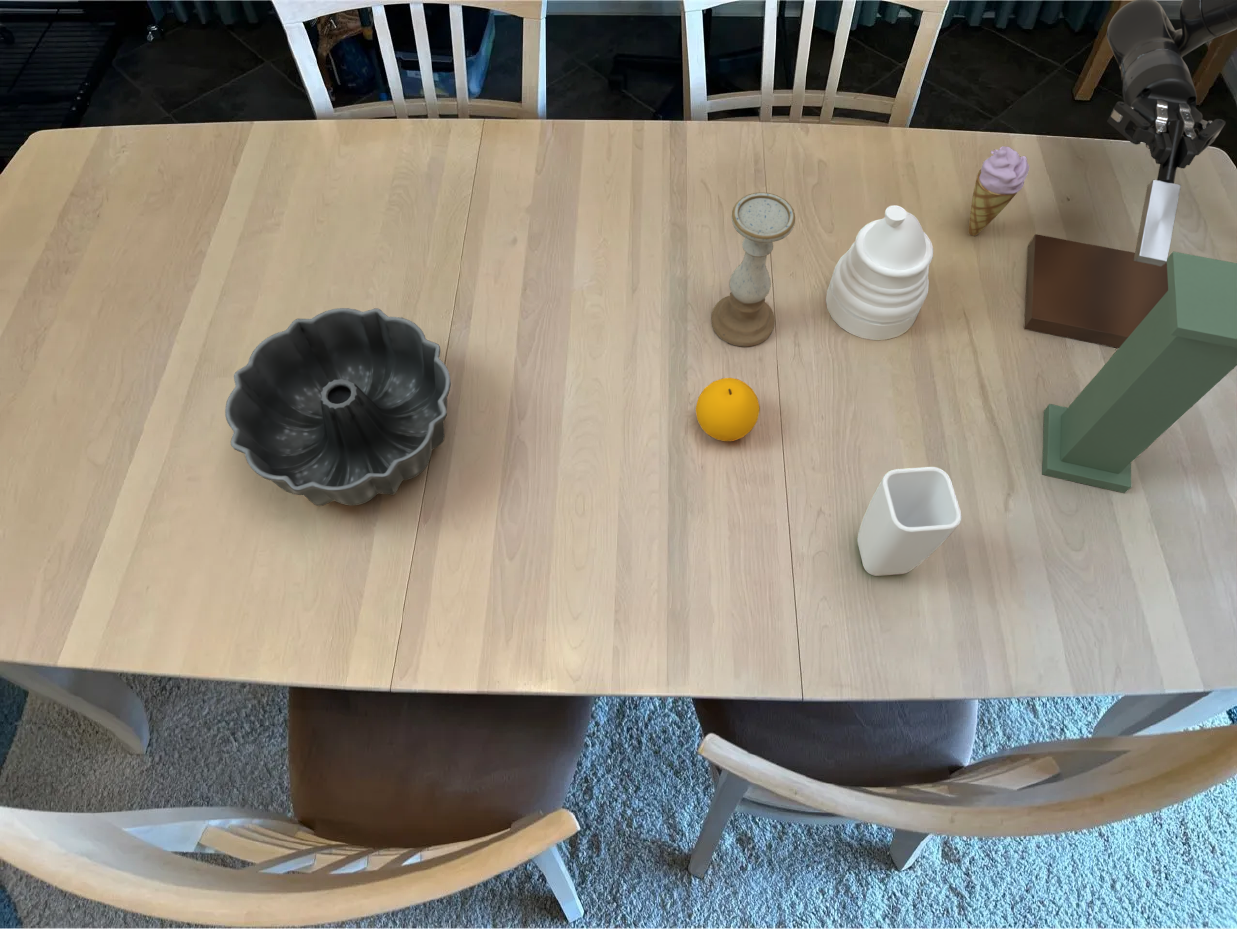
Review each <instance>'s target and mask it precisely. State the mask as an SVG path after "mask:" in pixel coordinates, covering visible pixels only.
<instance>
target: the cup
mask: <svg viewBox="0 0 1237 929" xmlns="http://www.w3.org/2000/svg"><path fill="white" fill-rule="evenodd" d="M956 494H957V493H956V491H955V488H954V485H953V482H952V479H951V477H950V476H949V474H948V472H946V471H945V470H943V469H942V468H940V467H937V466H922V467H921V466H920V467H908V468H895V469H891V470H889V471H887V472H886V473H885V474H884V475H883V477H882V479H881V481H880V482H879V484H878V485H877V487H876V490H875V491H874V493H873V495H872V497H871V499H870V501H869V503H868V506H867V507H866V511H865V512H864V514H863V517H862V520H861V524H860V526H859V529H858V534H857V539H856V540H857V546H858V549H859V554H860V558H861V563H862V566H863V568H864V570H865V571H866V573H867V574H869V575H871V576H876V577H880V576H881V577H882V576H892V575H893V576H894V575H904V574H908V573H909V572H911V571H912V570H914V569H915V568H917V567H918V566H920V565H921V564H922V563H923V562H924V561H925V560H927V559H928V558H930V556H931V555H933V553H934V552H935V551H937V550H938V548H940V547H941V546H942V544H943V543H945V541H946V540H947V539H948V538H949V537H950V536H951V535H952V533H953V532H954V531H955V530H956V529H957V527H958V526H959V525H960V523H961V521H962V511H961V507H960V505H959V501H958V497H957V495H956Z"/></svg>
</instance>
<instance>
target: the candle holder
mask: <svg viewBox="0 0 1237 929" xmlns="http://www.w3.org/2000/svg"><path fill="white" fill-rule="evenodd" d="M730 218H731V219H730V220H731V223H732V227H733V228H734V230H735V231H736V232H737V234H739V235H741V237H743V240H742V242H741V246H742V249H743V251H744V255H743V259H742V261H741V263H740V264H739V265H738V266H737V267H736V268H735V269H734V270H733V271H732V273H731V275H730V278H729V284H728V286H729V290H730V293H729V295H726V296H725V297H722V298H721V299H720V300H719V301H718V302H716V303H715V306H714V307H713V309H712V311H711V317H710V318H711V319H710V320H711V321H710V322H711V327H712V329H713V331H714V332H715V334H716V336H718V337H719V338H720V339H721V340H723V341H724V342H726V343H727V344H730V345H732V346H737V347H754V346H757V345H760V344H761V343H764V341H766V340H767V339H768V338H770V336H771V334H772V332H773V331H774V328H775V325H776V324H775V322H776V318H775V313H774V311H773V309H772V307H771V306H770V305H769V303H768V302H766V297H767V296H768V294H769V293H770V291H771V286H772V281H771V275H770V273H769V271H768V269H767V265H766V264H767V257H768V256H769V255H770V254H771V253H772V251H773V250H774V243H775V242H779V241H781V240H784V239H785V238H787V236H789V235H790V233H792V231H793V229H794V228H795V224H796V213H795V210H794V208H793V206H792V205H791V204H790V202H788V201H787V200H786V199H785V198H783V197H782V196H779V195H777V194H774V193H770V192H764V191H763V192H759V191H758V192H752V193H748V194H746V195H744V196H743V197H741V198H740V199H738V201H737V202H736V203H734V206H733V207H732V210H731V216H730Z"/></svg>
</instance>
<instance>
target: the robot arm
mask: <svg viewBox="0 0 1237 929" xmlns="http://www.w3.org/2000/svg"><path fill="white" fill-rule="evenodd" d="M1179 21H1180V27H1181V28H1179V29H1175V28H1174V26H1173V24H1172V22H1171V21H1170V19H1169V17H1168V15H1167V14H1166V12H1165V10H1164V8H1163V6H1162V5H1161V4H1160V3H1159V1H1156V0H1131V1H1130V2H1128V3H1126V4H1125V5H1123V6H1122V7H1121V8H1119V9H1118V10H1117V11H1116V12H1115V13H1114V15H1113V16H1112V18H1111V20H1110V21H1109V23H1108V26H1107V29H1106V39H1107V42H1108V45H1109V48H1110V50H1111V51H1112V54H1113V56H1114V57H1115V58H1114V59H1115V60H1116V63H1117V65H1118V67H1119V70H1120V79H1121V83H1122V99H1123V101H1117V102H1116V103H1115V105H1114V107H1113V109H1112V111H1111V113H1110V115H1109V117H1108V119H1107V124H1109V125H1110V126H1111V127H1113V128H1114V129H1115V131H1118V133H1120V135H1122V136H1123V137H1124V138H1125V139H1126V140H1127V141H1129V142H1130V143H1131V144H1133V145H1141V143H1143V144H1145V148H1146V149H1148V150H1149V153H1150V157H1151V158H1152V159H1153V160H1154V161H1155V164H1156V165H1160V164H1161V165H1163V164H1164V163H1165V161H1166V160H1167V158H1168V157H1169V155H1170V153H1171V151H1172V144H1171V140H1170V137H1169V134H1167V133H1166V131H1167V124H1168V123H1169V122H1170V121H1173V120H1182V121H1184V123H1185V126H1184V131H1183V137H1182V142H1181V148H1180V154H1179V159H1178V165H1177V169H1178V168H1179V169H1184V170H1185V169H1186V167H1188V166H1190V165H1191V164H1192V162H1193V161H1194V160H1195V157H1196V156H1200V154H1201V153H1203V152H1204V151H1205V150H1206V149H1207V148H1209V146H1210V145H1212V144H1213V143H1214V142H1215V141H1216V139H1217V137H1218V136H1219V134H1220V133H1221V131H1222V130H1223V128H1224V126H1226V122H1227V121H1225V120H1223V119H1220V118H1216V119H1214V120H1208V121H1207V120H1205V119H1203V113H1202V112H1201V111H1199V110H1198V109H1197V102H1198V95H1197V91H1196V87H1195V85H1194V82H1193V78H1192V75H1191V73H1190V70H1189V68H1188V65H1187V64H1186V62H1185V61H1184V59H1183V57H1185V56H1186V55H1187V54H1189V53H1191V52H1192V51H1194V50H1196V49H1197V48H1199V47H1200V46H1202V45H1203V44H1206V43H1207V42H1209V41H1211V40H1213V39H1217V38H1218V37H1221V36H1223V35H1226V34H1228V33H1231V32H1233V31H1236V30H1237V0H1182V1H1181V3H1180V6H1179ZM1134 130H1135V131H1134ZM1195 130H1197V131H1198V132H1197V133H1196V132H1195ZM1197 134H1198V135H1197Z"/></svg>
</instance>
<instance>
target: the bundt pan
mask: <svg viewBox="0 0 1237 929" xmlns="http://www.w3.org/2000/svg"><path fill="white" fill-rule="evenodd" d="M440 357H441V346H440V344H439V343H437V342H435V341H431V340H428V339H427V338H426V335H425V332H424V331H423V330H422V328H421V327H419V325H418V324H416V323H415V322H413V321H411V320H410V319H407V318H404V317H400V316H388V315H387V314H386V313H385V312H384V311H382V310H381V309H380V308H379V307H375V308H371V309H369V310H365V311H361V310H358V309H355V308H350V307H339V308H338V307H337V308H332V309H328V310H325V311H322V312H320V313H318V314H316V315H315V316H313V317H312V318H296V319H294V320H293V321H292V322H291V323H290V324H289V326H288V327H287V328H286V329H285V330H282V331H278V332H275V333H273V334H272V335H269V336H268V337H266V338H265V339H264V340H262V341H261V342H259V344H257V346H256V347H255V348H254V349H253V351H252V352H251V355H250V356H249V359H248V362H247V364H246V365H244V366H243V367H241V368H239V369H238V370H236V371H235V372H234V374H233V380H234V385H235V387H234V388H232V391H231V392H230V394H229V396H228V398H227V400H226V403H225V408H224V416H225V419H226V422H227V424H228V426H229V427H230V429H231V430H232V431H233V433H232V436H231V440H230V446H231V447H232V448H233V449H234V451H237V452H240V453H242V454H244V457H245V460H246V463H247V464H248V465H249V467H250V468H251V469H252V471H253V472H254V473H255V474H257V475H258V476H260V477H261V478H263V479H265V480H267V481H271V482H272V483H273V484H275V485H276V486H277V487H279V488H280V489H281V490H282V491H285V492H286V493H289V494H292V495H296V496H304V497H305V498H306V499H307V500H308V501H310V502H311V503H312V504H313V505H315V506H318V507H322V506H325V505H327V504H330V503H331V502H336V503H338V504H340V505H341V504H342V505H346V506H359V505H363V504H366V503H368V502H369V501H371V500H372V499H374V498H375V497H376V496H377V495H378V494H382V495H383V494H384V495H391V496H392V495H396V493H397V491H398V490H399V487H400V486H401V485H402V482H403V481H406V480H407V481H408V480H411V479H414V478H415V477H417V476H419V475H420V474H422V473H423V471H424V470H425V469H426V468H427V467H428V465H429V462H430V460H431V457H432V452H433V450H435V449H436V448H438V447H439V446H441V445H442V444H443V442H444V441H445V420H446V418H447V416H448V396H449V393H450V390H451V384H452V383H451V382H452V381H451V375H450V371H449V369H448V367H447V366H446V364H445V363H444V362H443V361H442V360H441V359H440Z"/></svg>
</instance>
